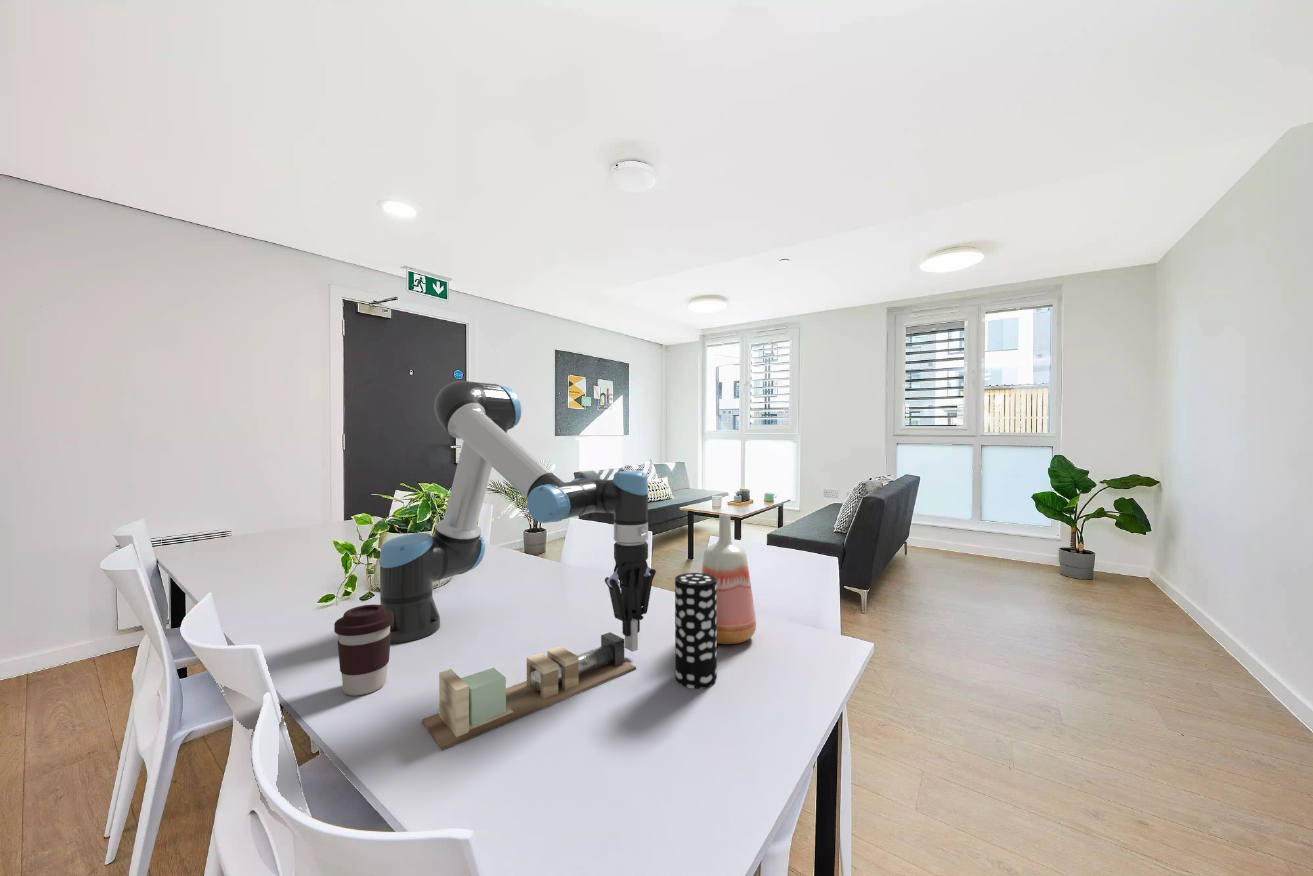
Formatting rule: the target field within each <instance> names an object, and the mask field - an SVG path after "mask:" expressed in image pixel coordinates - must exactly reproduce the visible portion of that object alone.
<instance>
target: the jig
mask: <svg viewBox="0 0 1313 876" xmlns="http://www.w3.org/2000/svg"><path fill="white" fill-rule="evenodd" d="M546 653H547V656H546V655H545V654H543V653H542V652H537V653H535V654H532V655H529V656H527V657H526V680H525V681H523V682H520V683H517V684H514V685H511V686H509V687H506V712H504V713H502V714H499V715H497V716H494V717H492V718H489V719H487V720H484V721H482V722H479V723H477V724H474V725H471V724H470V723H469V686H468V685H467V684H466V683H465V682H464V681H463V680H462V679H461V678H462V677H460V676H459V675H458V674H457V673H456V672H455V671H454V670H453V669H452V668H449V669H447V670H443V671H440V672H438V673H439V678H438V679H439V682H438V684H439V686H438V687H439V689H438V691H439V694H438V695H439V696H438V699H439V702H438V703H439V707H438V709H439V711H438V713H436V714H432V715H430V716H428V717H424V718H422V719H421V721H422V724H423V726H424V727H425V728H426V730H427V731H428V732H429V734H430V735H431V736H432V738H433V739H434V741H435V742H436V743H437V745H438V746H439V747H440V749H441V750H442V751H444V750H447V749H449V748H450V747H451V748H452V747H453V746H456V745H458V744H460V743H463V742H466V741H467V740H470V739H472V738H475V737H477V736H479V735H482V734H485V733H486V732H489V731H491V730H494V729H497V728H499V727H502V726H503V725H506V724H508V723H510V722H513V721H516V720H518V719H521V718H522V717H525V716H527V715H530V714H532V713H535V712H537V711H539V710H540V711H541V709H544V708H546V707H549V706H551V705H554V704H556V703H559V702H561V701H564V700H565V699H568V698H570V697H573V696H575V695H578V694H580V693H582V692H585V691H587V690H590V689H592V688H594V687H597V686H599V685H601V684H603V683H606V682H609V681H611V680H614V679H615V678H618V677H620V676H622V675H626V674H628V673H631V672H633V671H635V670H636V669H637V666H635V665H634V664H632V663H630V662H628V661H626V660H624V663H623V664H620V665H618V666H613V665H612V664H610V663H609V664H606V665H604V666H601V667H598V668H596V669H593V670H591V671H588V672H586V673H583V674H580V675H579V660H578V656H577V655H576V654H574V653H573V652H571V651H570V650H568V649H566V648H565V647H563V646H561V645H559V646H556V647H554V648H550V649H547V652H546ZM557 662H558V663H560V664H561V665H562V682H560V683H558V664H557ZM535 670H538V671H539V672H540V675H541V690H539V691H535V690H534V689H533V687H532V684H531V679H530V676H531V672H532V671H535Z"/></svg>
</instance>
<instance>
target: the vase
mask: <svg viewBox="0 0 1313 876" xmlns="http://www.w3.org/2000/svg"><path fill="white" fill-rule="evenodd" d="M718 518H719V519H718V523H719V524H718V541H717V542H716V543H714V544H712V545H709V546H708V547H706V548H705V549H704V552H703V556H702V564H701V573H703V574H708V575H712V576H714V577H715V578H716V579H717V644H720V645H736V644H740V643H743V642H744V643H745V642H746V641H748V640H749V639H751V638H752V637H753V636H754V634H755V633H756V630H757V619H756V618H757V617H756V610H755V604H754V602H755V601H754V597H753V590H752V583H751V577H750V571H749V564H748V557H747V553H746V551H745V549H744V548H742V547H741V546H740V545H737V544H735V543H733V541H732V531H731V529H732V527H731V526H732V525H731V524H732V523H731V514H730V513H719V517H718Z"/></svg>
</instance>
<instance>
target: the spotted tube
mask: <svg viewBox="0 0 1313 876" xmlns="http://www.w3.org/2000/svg"><path fill="white" fill-rule="evenodd" d="M674 627H675V628H674V629H675V630H674V648H675V649H674V653H675V654H674V656H675V657H674V658H675V659H674V664H675V665H674V668H675V669H674V671H675V673H674V675H675V681H676V682H677V683H678V685H679V686H680V685H681V687H685V688H689V689H695V690H696V689H699V690H700V689H706V688H710V687H712V686H713V685H715V684H716V682H717V679H718V673H717V672H718V671H717V670H718V662H717V661H718V660H717V659H718V655H717V654H718V650H717V648H718V646H717V644H718V643H717V579H716V578H715V577H714V576H712V575H708V574H703V573H700V572H687V573H682V574H679V575H677V576H675V578H674Z"/></svg>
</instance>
